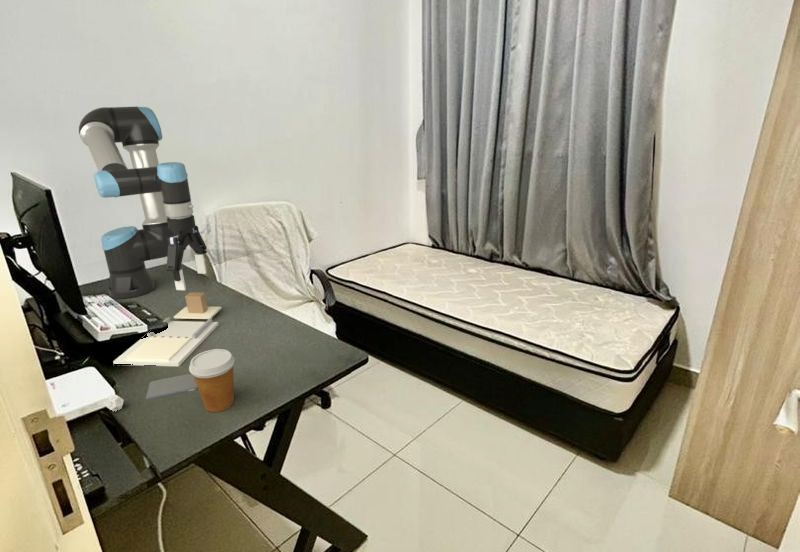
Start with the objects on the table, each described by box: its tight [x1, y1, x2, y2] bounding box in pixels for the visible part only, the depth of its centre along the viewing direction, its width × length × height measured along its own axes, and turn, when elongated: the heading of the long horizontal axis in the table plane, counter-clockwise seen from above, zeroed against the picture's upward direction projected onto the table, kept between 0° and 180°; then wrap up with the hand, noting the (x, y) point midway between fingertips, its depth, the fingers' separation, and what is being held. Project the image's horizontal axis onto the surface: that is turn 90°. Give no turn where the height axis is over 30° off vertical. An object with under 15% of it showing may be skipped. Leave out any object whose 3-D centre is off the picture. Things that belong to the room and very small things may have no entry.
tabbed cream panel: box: [173, 291, 222, 320], centre depth 147 cm, size 8×12×7 cm, turn 86°
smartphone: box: [145, 372, 198, 400], centre depth 113 cm, size 8×1×15 cm
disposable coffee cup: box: [188, 348, 236, 413], centre depth 104 cm, size 10×10×12 cm
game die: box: [105, 394, 125, 413], centre depth 104 cm, size 4×4×3 cm
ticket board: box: [112, 317, 220, 367], centre depth 132 cm, size 24×18×2 cm
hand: (192, 281), depth 145 cm, fingers open, 13 cm apart
